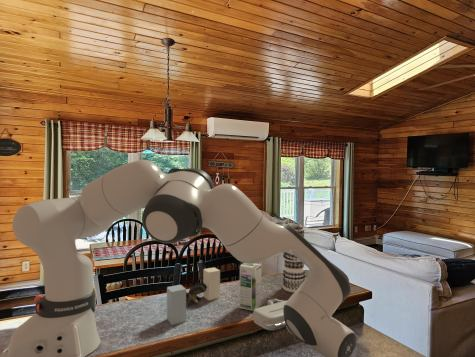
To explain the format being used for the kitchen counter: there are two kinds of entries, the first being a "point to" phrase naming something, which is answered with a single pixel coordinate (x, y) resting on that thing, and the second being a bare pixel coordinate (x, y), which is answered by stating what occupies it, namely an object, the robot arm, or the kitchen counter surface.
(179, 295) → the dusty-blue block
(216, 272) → the cream block
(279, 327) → the robot arm
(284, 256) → the decorative candle
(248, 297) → the syrup box
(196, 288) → the brown animal figure
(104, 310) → the kitchen counter surface
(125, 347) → the kitchen counter surface
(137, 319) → the kitchen counter surface
